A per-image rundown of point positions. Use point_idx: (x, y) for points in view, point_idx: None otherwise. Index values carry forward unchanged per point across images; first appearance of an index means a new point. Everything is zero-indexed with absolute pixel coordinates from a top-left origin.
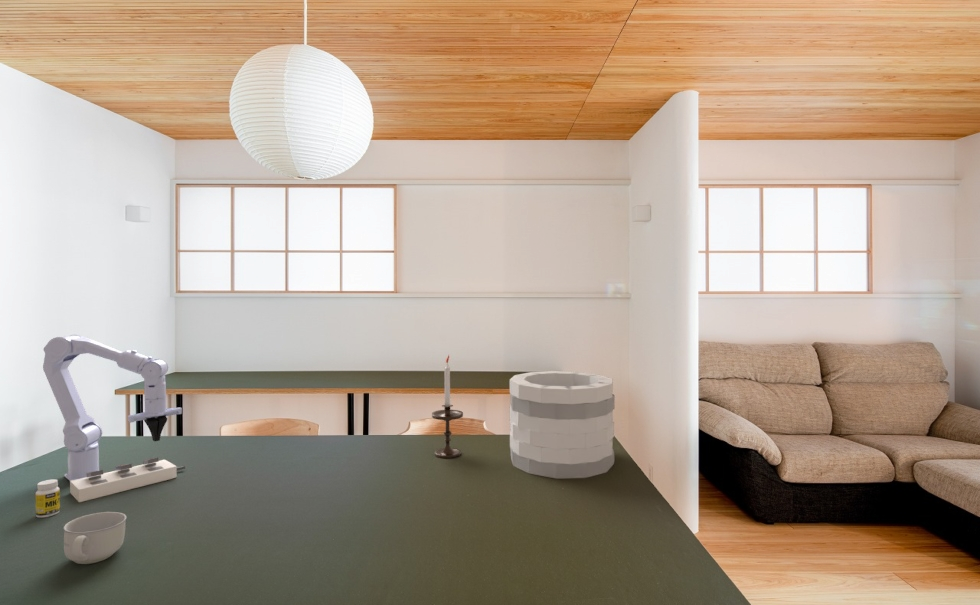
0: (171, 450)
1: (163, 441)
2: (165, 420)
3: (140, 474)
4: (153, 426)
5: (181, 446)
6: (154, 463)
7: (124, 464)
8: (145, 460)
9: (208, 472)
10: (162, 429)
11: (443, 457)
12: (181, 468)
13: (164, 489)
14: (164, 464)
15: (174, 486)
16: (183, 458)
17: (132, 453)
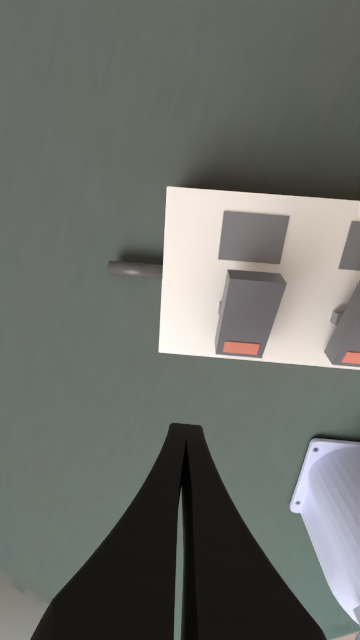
0: (74, 503)
1: (65, 579)
2: (71, 619)
3: (342, 205)
4: (243, 558)
5: (40, 514)
6: None
7: (353, 353)
8: (274, 319)
9: (49, 136)
10: (139, 492)
11: None
12: (125, 262)
13: (283, 51)
14: (192, 275)
15: (234, 55)
16: (71, 406)
17: None
